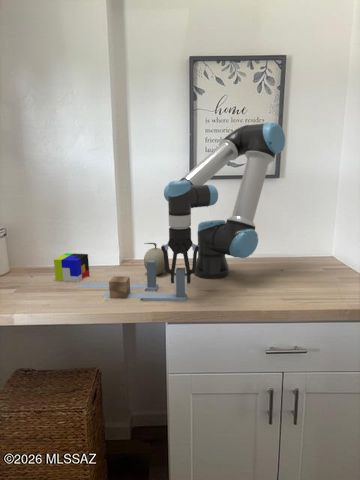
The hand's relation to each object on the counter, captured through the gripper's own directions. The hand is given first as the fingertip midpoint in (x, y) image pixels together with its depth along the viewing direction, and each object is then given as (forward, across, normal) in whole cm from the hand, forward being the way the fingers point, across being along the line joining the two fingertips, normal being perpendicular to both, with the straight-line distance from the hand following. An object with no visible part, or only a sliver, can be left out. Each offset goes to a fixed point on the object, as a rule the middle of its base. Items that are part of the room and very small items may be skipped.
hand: (180, 291), depth 124 cm
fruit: (+3, +13, -28) cm, 31 cm away
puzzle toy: (+3, +47, -19) cm, 51 cm away
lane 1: (+3, +16, -10) cm, 19 cm away
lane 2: (+3, +13, 0) cm, 13 cm away
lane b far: (+3, +32, -10) cm, 34 cm away
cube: (+2, +22, 0) cm, 22 cm away
